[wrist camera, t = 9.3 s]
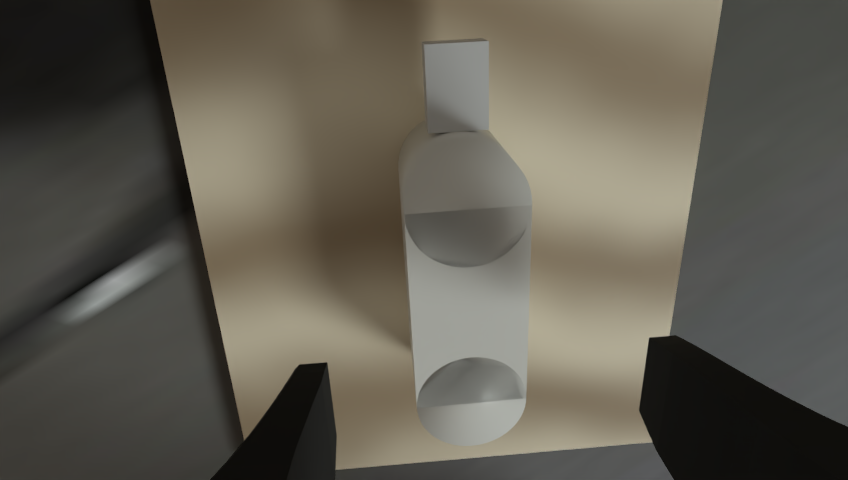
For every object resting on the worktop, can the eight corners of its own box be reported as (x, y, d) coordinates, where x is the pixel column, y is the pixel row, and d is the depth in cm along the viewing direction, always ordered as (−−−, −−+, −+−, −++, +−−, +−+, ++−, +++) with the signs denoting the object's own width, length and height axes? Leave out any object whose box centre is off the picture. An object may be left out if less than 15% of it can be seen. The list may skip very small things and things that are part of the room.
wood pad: (641, 424, 24) (652, 441, 23) (257, 458, 23) (251, 477, 22) (712, -56, 17) (731, -59, 16) (156, -35, 16) (142, -36, 15)
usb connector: (498, 362, 21) (525, 440, 17) (411, 369, 21) (419, 450, 17) (500, 32, 16) (537, 44, 13) (389, 38, 16) (393, 52, 12)
